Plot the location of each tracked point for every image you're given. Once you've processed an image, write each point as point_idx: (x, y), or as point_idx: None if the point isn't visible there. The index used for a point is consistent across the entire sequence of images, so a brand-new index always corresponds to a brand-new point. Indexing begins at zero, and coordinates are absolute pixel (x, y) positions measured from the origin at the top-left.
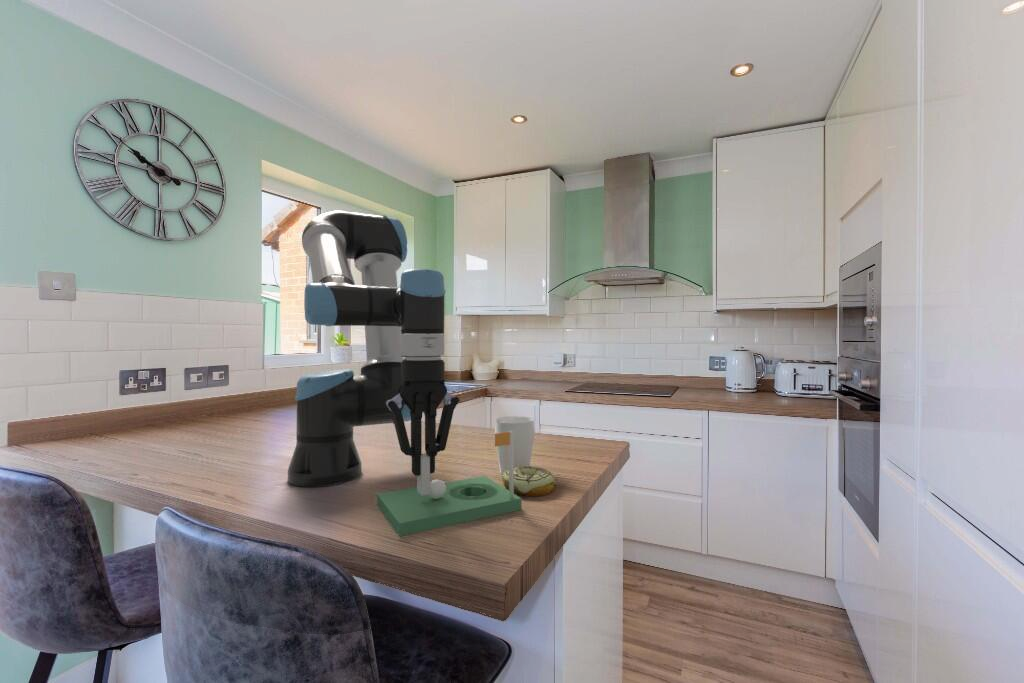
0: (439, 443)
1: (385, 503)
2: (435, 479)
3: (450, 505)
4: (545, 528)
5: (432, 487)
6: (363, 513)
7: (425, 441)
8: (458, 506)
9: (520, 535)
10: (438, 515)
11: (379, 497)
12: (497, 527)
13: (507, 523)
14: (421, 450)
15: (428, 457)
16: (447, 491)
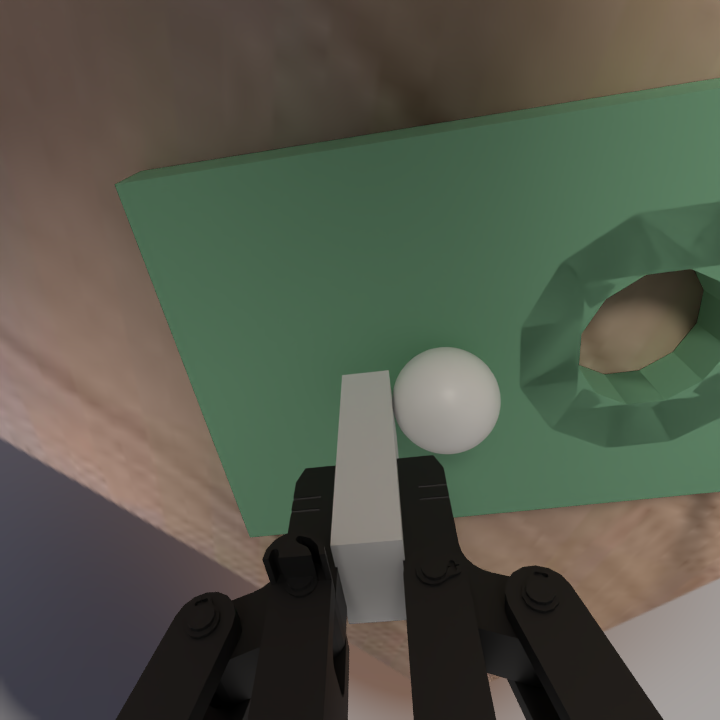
0: (522, 702)
1: (183, 351)
2: (449, 427)
3: (470, 460)
4: (696, 578)
5: (416, 444)
6: (90, 266)
7: (410, 665)
8: (497, 479)
9: (601, 589)
10: None
11: (139, 247)
12: (573, 537)
13: (620, 525)
14: (348, 676)
15: (402, 617)
16: (530, 292)
